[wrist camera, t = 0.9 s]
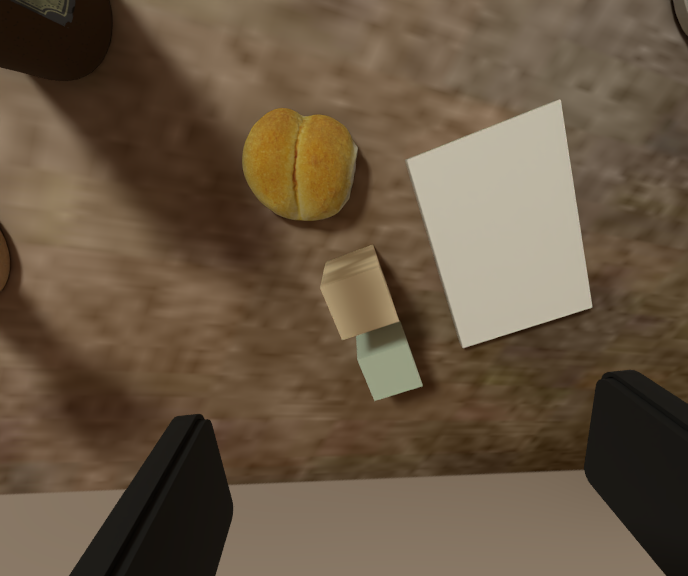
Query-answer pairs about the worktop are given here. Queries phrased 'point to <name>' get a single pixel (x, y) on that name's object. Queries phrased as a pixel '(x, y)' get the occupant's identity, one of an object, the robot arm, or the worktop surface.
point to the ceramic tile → (504, 225)
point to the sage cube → (387, 361)
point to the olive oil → (54, 36)
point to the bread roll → (300, 164)
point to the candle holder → (4, 262)
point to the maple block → (357, 293)
